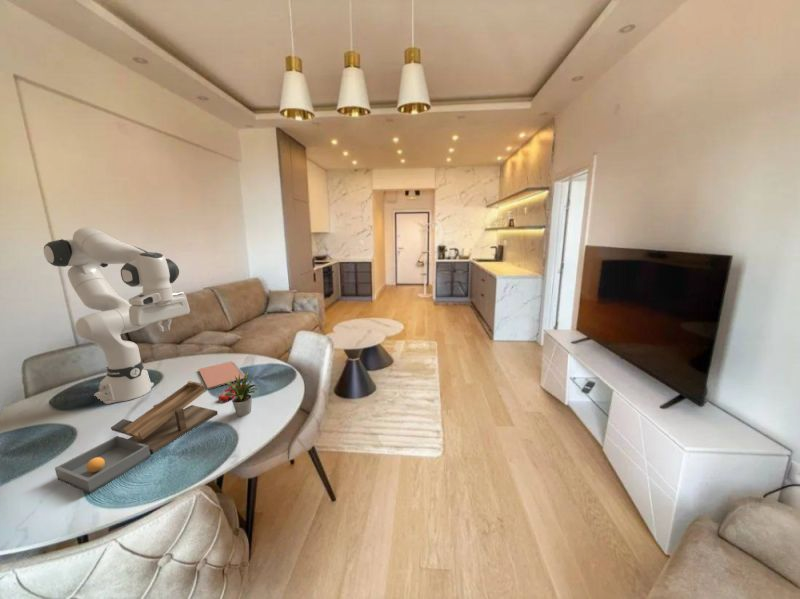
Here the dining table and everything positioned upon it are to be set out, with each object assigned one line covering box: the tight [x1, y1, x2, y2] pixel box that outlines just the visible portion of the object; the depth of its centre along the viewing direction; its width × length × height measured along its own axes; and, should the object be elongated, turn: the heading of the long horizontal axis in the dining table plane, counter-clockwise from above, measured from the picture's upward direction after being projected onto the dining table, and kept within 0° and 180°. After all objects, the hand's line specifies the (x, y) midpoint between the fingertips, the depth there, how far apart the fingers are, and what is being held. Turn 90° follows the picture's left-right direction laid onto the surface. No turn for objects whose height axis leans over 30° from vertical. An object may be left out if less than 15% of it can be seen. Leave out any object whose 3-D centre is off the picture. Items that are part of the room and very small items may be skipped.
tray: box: [54, 435, 152, 495], centre depth 97 cm, size 16×16×4 cm
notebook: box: [198, 360, 246, 390], centre depth 160 cm, size 27×17×2 cm, turn 39°
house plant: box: [218, 371, 260, 417], centre depth 123 cm, size 14×14×16 cm
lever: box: [110, 380, 206, 440], centre depth 115 cm, size 16×24×4 cm, turn 160°
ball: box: [86, 457, 105, 472], centre depth 95 cm, size 4×4×4 cm
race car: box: [218, 382, 242, 403], centre depth 140 cm, size 13×5×4 cm, turn 159°
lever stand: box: [128, 402, 219, 454], centre depth 116 cm, size 14×24×9 cm, turn 160°
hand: (164, 331), depth 123 cm, fingers closed
